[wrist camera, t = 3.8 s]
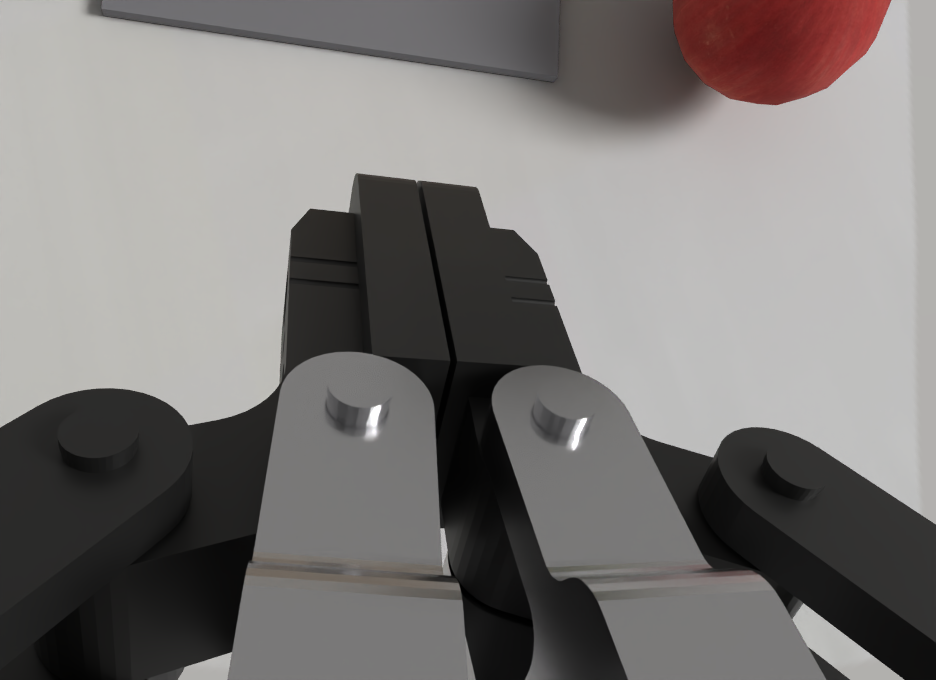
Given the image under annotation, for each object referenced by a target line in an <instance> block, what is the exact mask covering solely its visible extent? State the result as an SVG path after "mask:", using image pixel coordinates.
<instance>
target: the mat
mask: <svg viewBox="0 0 936 680" xmlns="http://www.w3.org/2000/svg"><path fill="white" fill-rule="evenodd" d="M101 9H102V12H103V15H104V16H109V17H116V18H123V19H129V20H136V21H143V22H150V23H157V24H163V25H170V26H177V27H184V28H190V29H197V30H204V31H211V32H218V33H224V34H231V35H238V36H245V37H251V38H258V39H265V40H272V41H279V42H285V43H292V44H299V45H306V46H312V47H319V48H326V49H333V50H339V51H346V52H353V53H360V54H367V55H373V56H380V57H387V58H394V59H400V60H407V61H414V62H421V63H428V64H434V65H441V66H448V67H455V68H461V69H468V70H475V71H482V72H489V73H495V74H502V75H509V76H516V77H522V78H529V79H536V80H543V81H550V82H554V81H555V80H556V79H557V77H558V58H559V24H560V0H102V6H101Z"/></svg>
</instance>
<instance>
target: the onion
mask: <svg viewBox="0 0 936 680" xmlns="http://www.w3.org/2000/svg"><path fill="white" fill-rule="evenodd" d="M890 2H891V0H673V24H674V32H675V35H676V38H677V41H678V43H679V46H680V49H681V52H682V55H683V57H684V60H685V61H686V62H687V63H688V65H689V66H690V67H691V68H692V69H693V71H694V72H695V73H696V74H697V75H698V77H699V78H700V79H701V80H702V81H703V83H705V84H706V85H708V86H710V87H711V88H713V89H715V90H716V91H718V92H720V93H721V94H723V95H725V96H726V97H728V98H730V99H734V100H739V101H745V102H750V103H756V104H768V105H779V104H782V103H786V102H790V101H793V100H797V99H800V98H804V97H807V96H809V95H812V94H814V93H816V92H819V91H821V90H823V89H826V88H828V87H829V86H830V85H831V84H832V83H833V82H834V81H835V80H836V79H838V78H839V77H840V76H841V75H842V74H843V73H844V72H845V71H846V70H848V69H849V68H850V67H851V66H852V65H853V64H854V63H856V62H857V61H858V60H859V59H860V58H861V57H863V56H864V55H865V54H866V52H867V51H868V49H869V48H870V46H871V45H872V43H873V42H874V40H875V39H876V36H877V34H878V31H879V29H880V27H881V24H882V22H883V19H884V17H885V14H886V12H887V10H888V7H889V5H890Z"/></svg>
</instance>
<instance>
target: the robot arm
mask: <svg viewBox="0 0 936 680" xmlns="http://www.w3.org/2000/svg"><path fill="white" fill-rule="evenodd" d="M554 304H555V300H554V297H553V294H552V291H551V289H550V286H549V285H547V278H546V275H545V272H544V270H543V267H542V264H541V262H540V259H539V256H538V254H537V253H536V252H535V251H534V250H533V249H532V248H531V247H530V246H529V245H528V244H527V243H526V242H525V241H524V240H523V239H522V238H521V237H520V236H519V235H518V234H517V233H516V232H515V231H514V230H507V229H497V228H490V226H489V223H488V220H487V217H486V213H485V210H484V207H483V203H482V200H481V197H480V193H479V191H478V189H477V188H476V187H470V186H461V185H453V184H444V183H436V182H427V181H418V182H417V184H416V181H415V180H409V179H400V178H392V177H383V176H375V175H366V174H358V173H356V175H355V178H354V182H353V187H352V194H351V201H350V208H349V213H346V212H336V211H327V210H317V209H309V210H308V212H307V213H306V214H305V215H304V216H303V217H302V218H301V219H300V220H299V222H298V223H297V224H296V225H295V226H294V227H293V228H292V229H291V239H290V250H289V260H288V271H287V282H286V293H285V304H284V315H283V326H282V342H281V364H280V384H279V386H278V387H277V389H276V390H275V391H274V392H273V393H272V394H271V395H270V396H269V397H268V398H267V399H266V400H264V401H263V402H262V403H260V404H259V405H257V406H255V407H254V408H252V409H250V410H248V411H246V412H243V413H240V414H238V415H235V416H232V417H228V418H224V419H220V420H216V421H210V422H205V423H199V424H194V425H189V426H188V424H187V423H186V421H185V419H184V418H183V417H182V416H181V415H180V414H179V413H178V411H177V410H175V409H174V408H173V407H171V406H170V405H168V404H167V403H165V402H163V401H161V400H160V399H158V398H156V397H153V396H150V395H147V394H144V393H141V392H136V391H131V390H125V389H114V388H107V389H91V390H82V391H78V392H73V393H69V394H65V395H62V396H60V397H57V398H54V399H51V400H49V401H47V402H45V403H43V404H41V405H39V406H37V407H35V408H34V409H32V410H30V411H28V412H27V413H25V414H23V415H21V416H20V417H18V418H16V419H14V420H13V421H11V422H9V423H8V424H6V425H4V426H2V427H1V428H0V680H178V678H179V676H180V675H181V673H182V672H183V669H184V667H186V666H189V665H192V664H195V663H198V662H202V661H205V660H208V659H211V658H214V657H218V656H221V655H224V654H227V653H230V652H232V656H231V662H230V668H229V674H228V680H850V679H848V678H847V677H846V676H844V675H843V674H842V673H841V672H839V671H838V670H837V669H835V668H834V667H833V666H832V665H830V664H829V663H828V662H827V661H825V660H824V659H823V658H821V657H820V656H819V655H818V654H816V653H815V652H814V651H812V650H811V649H810V648H809V647H807V645H806V643H805V641H804V640H803V638H802V636H801V634H800V633H799V631H798V629H797V627H796V625H795V624H794V622H793V620H792V619H793V617H794V616H795V614H796V613H797V611H798V610H799V609H800V607H801V606H802V604H803V603H804V604H805V605H807V606H808V607H809V608H811V609H812V610H813V611H815V612H816V613H817V614H819V615H820V616H821V617H823V618H824V619H825V620H826V621H828V622H829V623H830V624H832V625H833V626H834V627H836V628H837V629H838V630H840V631H841V632H842V633H844V634H845V635H846V636H848V637H849V638H850V639H852V640H853V641H854V642H856V643H857V644H858V645H860V646H861V647H862V648H863V649H865V650H866V651H867V652H869V653H870V654H871V655H873V656H874V657H875V658H877V659H878V660H879V661H881V662H882V663H883V664H885V665H886V666H887V667H889V668H890V669H891V670H893V671H894V672H895V673H897V674H898V675H899V676H900V677H902V678H903V679H904V680H936V524H934V523H932V522H931V521H929V520H928V519H926V518H925V517H923V516H922V515H920V514H919V513H917V512H916V511H914V510H913V509H911V508H910V507H908V506H907V505H905V504H904V503H902V502H901V501H899V500H897V499H896V498H894V497H893V496H891V495H890V494H888V493H887V492H885V491H884V490H882V489H881V488H879V487H878V486H876V485H875V484H873V483H872V482H870V481H869V480H867V479H865V478H864V477H862V476H861V475H859V474H858V473H856V472H855V471H853V470H852V469H850V468H849V467H847V466H846V465H844V464H843V463H841V462H840V461H838V460H837V459H835V458H833V457H832V456H830V455H829V454H827V453H826V452H824V451H823V450H821V449H820V448H818V447H816V446H815V445H813V444H811V443H810V442H808V441H806V440H803V439H801V438H799V437H797V436H794V435H792V434H789V433H786V432H783V431H779V430H775V429H769V428H760V427H751V428H744V429H740V430H737V431H734V432H732V433H731V434H729V435H727V436H726V437H725V438H724V439H723V441H722V442H721V444H720V446H719V448H718V450H717V452H716V454H715V456H714V458H712V457H709V456H705V455H702V454H698V453H695V452H692V451H688V450H685V449H681V448H678V447H675V446H671V445H668V444H664V443H661V442H658V441H655V440H652V439H649V438H647V437H645V436H642V435H640V433H639V431H638V429H637V427H636V425H635V423H634V421H633V419H632V417H631V415H630V413H629V411H628V410H627V408H626V407H625V405H624V404H623V402H622V401H621V400H620V399H619V398H618V397H617V396H616V395H615V394H614V393H613V392H612V391H611V390H610V389H608V388H607V387H605V386H604V385H603V384H601V383H600V382H598V381H596V380H594V379H592V378H591V377H589V376H586V375H584V374H582V373H581V370H580V367H579V364H578V362H577V359H576V356H575V354H574V351H573V348H572V346H571V343H570V340H569V337H568V335H567V332H566V329H565V327H564V324H563V321H562V318H561V316H560V313H559V310H558V308H557V306H554ZM440 528H445V535H446V542H447V548H448V551H447V554H446V558H445V561H444V565H443V568H442V555H441V535H440Z"/></svg>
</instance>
